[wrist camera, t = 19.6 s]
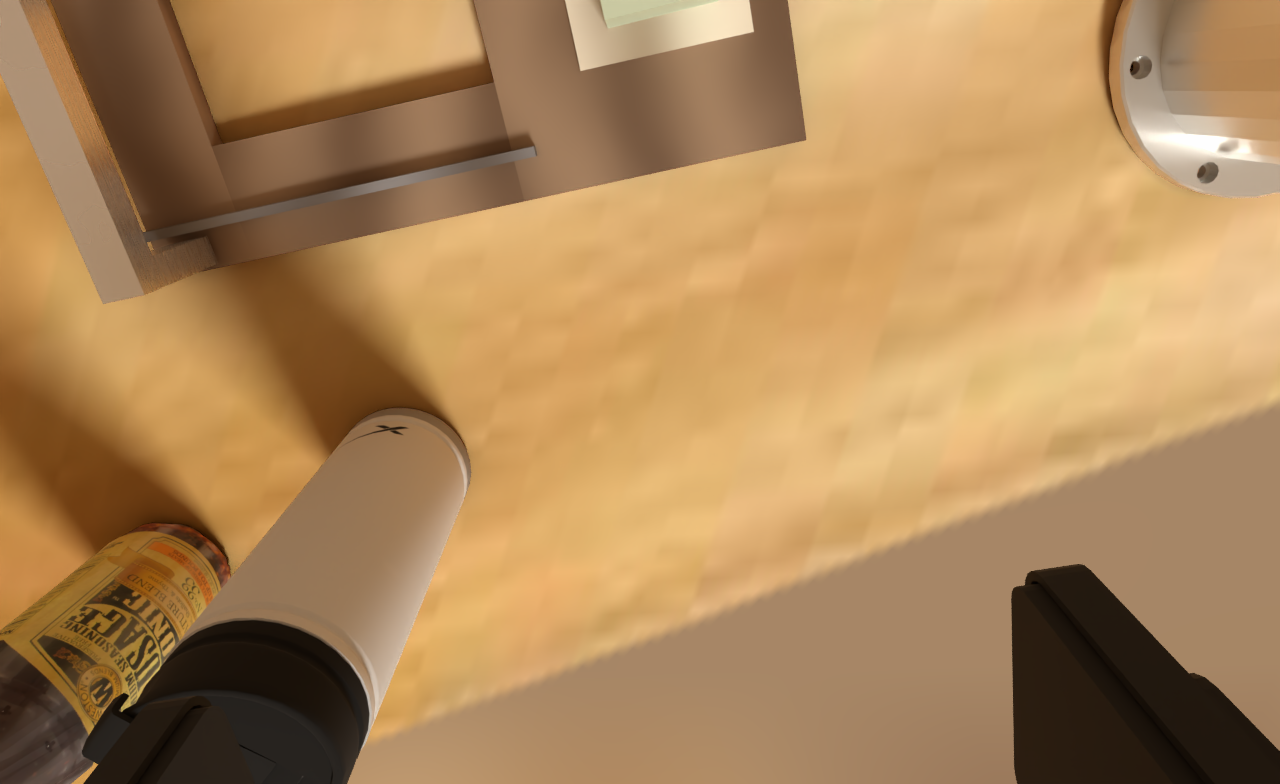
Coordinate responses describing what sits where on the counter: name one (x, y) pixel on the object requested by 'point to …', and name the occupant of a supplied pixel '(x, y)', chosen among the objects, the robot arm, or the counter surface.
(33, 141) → the gate
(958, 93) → the counter surface
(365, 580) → the travel mug
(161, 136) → the board
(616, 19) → the block
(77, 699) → the sauce bottle
